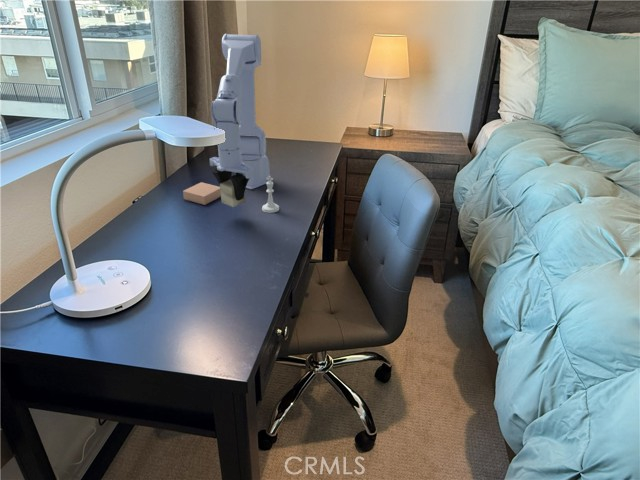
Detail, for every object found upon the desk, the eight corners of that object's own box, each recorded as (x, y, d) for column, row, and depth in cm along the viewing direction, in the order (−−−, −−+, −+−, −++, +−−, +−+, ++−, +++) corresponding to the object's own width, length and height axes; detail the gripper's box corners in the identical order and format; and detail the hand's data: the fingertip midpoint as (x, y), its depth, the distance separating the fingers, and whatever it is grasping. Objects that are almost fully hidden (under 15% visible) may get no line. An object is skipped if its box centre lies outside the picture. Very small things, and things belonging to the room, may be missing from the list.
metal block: (234, 197, 123) (232, 178, 120) (245, 201, 121) (244, 182, 118) (221, 202, 120) (219, 183, 117) (233, 207, 118) (231, 187, 115)
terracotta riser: (202, 191, 138) (201, 182, 137) (222, 196, 135) (221, 187, 134) (184, 200, 132) (182, 190, 131) (205, 206, 129) (203, 196, 128)
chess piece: (276, 213, 125) (275, 180, 120) (259, 211, 126) (258, 178, 121) (281, 206, 129) (280, 173, 124) (265, 204, 130) (263, 172, 125)
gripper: (198, 145, 114) (204, 194, 121) (237, 157, 106) (241, 209, 113) (219, 139, 119) (223, 186, 126) (258, 150, 111) (260, 200, 118)
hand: (233, 196), depth 120 cm, fingers closed on metal block, 4 cm apart
